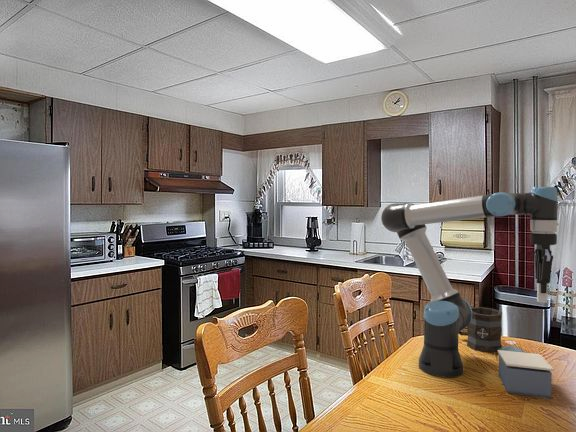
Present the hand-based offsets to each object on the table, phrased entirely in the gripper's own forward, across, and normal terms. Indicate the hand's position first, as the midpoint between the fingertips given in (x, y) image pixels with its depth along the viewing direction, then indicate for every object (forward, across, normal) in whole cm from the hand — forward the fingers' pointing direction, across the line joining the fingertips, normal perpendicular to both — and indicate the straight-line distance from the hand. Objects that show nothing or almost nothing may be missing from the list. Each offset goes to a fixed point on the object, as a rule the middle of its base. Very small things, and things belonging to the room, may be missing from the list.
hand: (542, 301), depth 133 cm
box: (+27, -8, +7) cm, 28 cm away
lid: (+18, -8, +7) cm, 21 cm away
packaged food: (+27, +15, +4) cm, 31 cm away
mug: (+27, +28, +16) cm, 42 cm away
